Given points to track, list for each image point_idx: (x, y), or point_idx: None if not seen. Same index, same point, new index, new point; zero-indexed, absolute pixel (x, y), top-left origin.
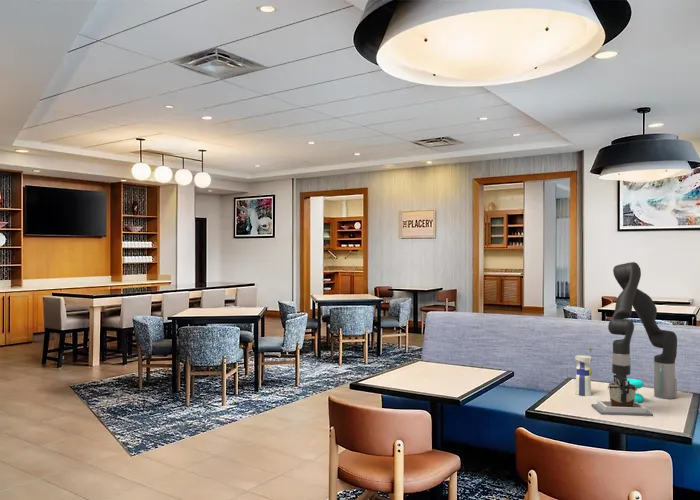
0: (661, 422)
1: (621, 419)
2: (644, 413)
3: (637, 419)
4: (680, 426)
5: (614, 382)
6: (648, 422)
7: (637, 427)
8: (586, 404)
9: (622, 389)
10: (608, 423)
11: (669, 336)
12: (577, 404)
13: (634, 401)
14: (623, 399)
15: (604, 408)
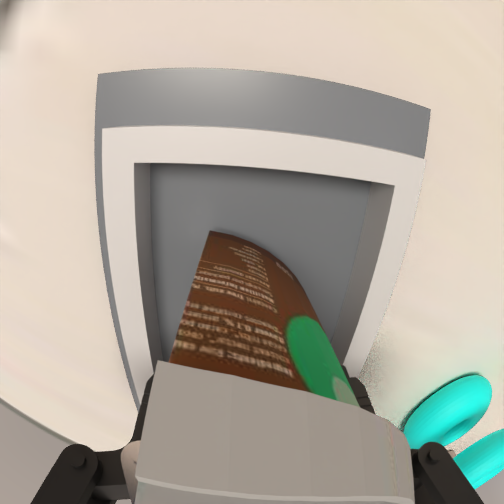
0: (45, 390)
1: (8, 212)
2: (137, 399)
3: (42, 317)
4: (27, 411)
5: (455, 500)
6: (15, 340)
7: None
8: (463, 100)
9: (76, 496)
10: None
11: None
12: (457, 27)
13: (413, 416)
14: (145, 393)
15: (147, 125)
